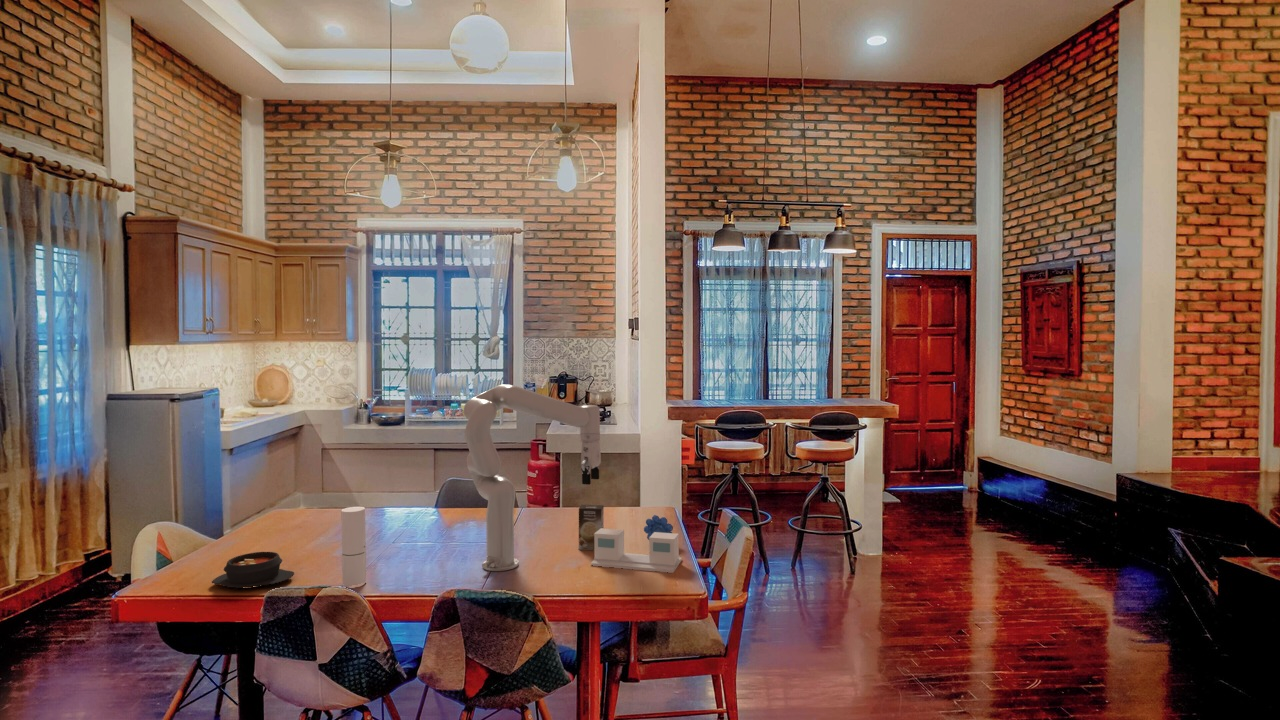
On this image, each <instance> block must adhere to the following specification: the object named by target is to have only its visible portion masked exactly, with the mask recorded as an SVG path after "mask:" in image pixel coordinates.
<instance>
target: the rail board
mask: <svg viewBox="0 0 1280 720" xmlns="http://www.w3.org/2000/svg"><path fill="white" fill-rule="evenodd" d="M679 535H680V534H679V533H674V532H672V533H660V532H654V533H653V534H652V535H651V536H650V537H649V540H648V546H649V548H648V551H649V554H641V553H633V552H632V553H631V552H625V530H624V529H616V528H615V529H614V528H604V527H603V528H600V529H599V530H598V531H597V532H596V533H594V550H593V551H594V558H593V560H592V561H591V562H590V565H593V566H592V567H598V566H602V567H601V568H609V567H614V568H613V569H621V568H623V570H632V569H633V570H634V571H635V570H636V571H646V572H655V571H660V572H659V573H667V572H668V573H670V574H674V572H676V569H677V568H678V566H680V564H681V562H682V560H683V559H682V557H680V556H679V555H680V550H679V549H680V548H679V546H680V544H679V543H680V542H679V538H680V536H679ZM668 573H667V574H668Z"/></svg>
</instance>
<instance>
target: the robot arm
mask: <svg viewBox="0 0 1280 720" xmlns="http://www.w3.org/2000/svg"><path fill="white" fill-rule="evenodd" d="M503 408H505V409H509V410H512V411H515V412H519V413H521V414H525V415H528V416H532V417H536V418H539V419H543V420H550V421H555V422H558V423H561V424H563V425H566V426H569V427H575V428H579V430H580V431H579V434H580V435H579V436H580V437H579V439H580V443H581V454H580V460H581V463H580V466H581V484H582V485H587V486H588V485H591V483H592V482H591V481H592V480H599V479H600V466H601V463H602V457H601V456H602V455H601V454H602V452H601V444H600V441H601V430H600V429H601V421H600V420H601V418H600V413H601V412H600V407H599V406H598V405H595V404H586V405H576V404H572V403H570V402H567V401H563V400H559V399H556V398H554V397H552V396H548V395H545V394H541V393H538V392H535V391H532V390H529V389H526V388H522V387H521V386H517V385H513V384H505V383H504V384H503V383H502V384H499V385H496V386H494V387H492V388H490V389H488V390H486V391H484V392H482V393H480V394H477V395H476V396H473V397H472V398H470V399H469V400H467V401H466V402H465V404H464V407H463V415H464V417H465V418H466V419H467V422H466V426H465V429H464V437H465V443H466V445H467V448H468V450H469V453H468V455H467V456H466V467H467V469H468V472H469V475H470V476H471V477H470V478H471V479H472V482H473V484H474V486H475V488H476V491H477V492H478V494H479V495H480V496H481V498H483V499H485V500H486V501H487V509H486V512H485V513H486V514H485V516H486V517H485V521H486V522H485V523H486V525H485V527H486V560H485V561H483V562H482V564H481V567H482V569H484V570H486V571H489V572H505V571H510V570H513V569H515V568H517V567H519V563H520V561H519V560H518V559H517V558H515V533H514V532H515V528H514V526H515V523H514V522H515V520H514V512H515V511H514V510H515V500H516V487H515V485H514V484H513V482H512V481H511V480H510V479H509V478H506V477H504V476H501V475H500V474H499V473H500V472H501V469H502V460H501V457H500V456H499V453H498V451H497V448H496V445H495V444H494V442H493V439H492V434H491V428H492V424H493V422H495V419H496V417H497V414H498V413H497V412H498V411H499V410H501V409H503Z"/></svg>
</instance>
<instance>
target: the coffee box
mask: <svg viewBox="0 0 1280 720" xmlns="http://www.w3.org/2000/svg"><path fill="white" fill-rule="evenodd" d="M604 507H605V506H604V505H602V504H581V505H580V506H579V508H578V550H579V551H580V550H581V551H582V550H583V551H594V533H596V532H597V531H598V530H599V529H600V528H604V511H605V510H604V509H605V508H604Z"/></svg>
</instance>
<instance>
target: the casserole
mask: <svg viewBox="0 0 1280 720" xmlns="http://www.w3.org/2000/svg"><path fill="white" fill-rule="evenodd" d="M282 563H283V559H282V557H280V555H279V554H278V553H277V552H274V551H257V552H250V553H244V554H240V555H238V556H235V557H232V558H230V559H229V560H228V561H227V562H226V565H225V566H224V567H223V571H224V572H225V573H223V574H221V575H218V576H216V577H215V578H214V579H212V581H211V583H212V584H213V583H215V584H214V585H216V584H221V585H220V586H222V585H224V586H223V587H225V586H227V587H226V588H229V587H236V588H235V589H238V588H243V587H253V586H260V585H264V586H269V584H271V585H276V584H275V583H277V584H279V582H280V583H283V582H285V581H287V580H289V579H291V578H292V577H294V575H295V572H294V571H292V570H286V569H282V568H280V567H281V564H282ZM282 581H283V582H282ZM260 587H261V586H260Z"/></svg>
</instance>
